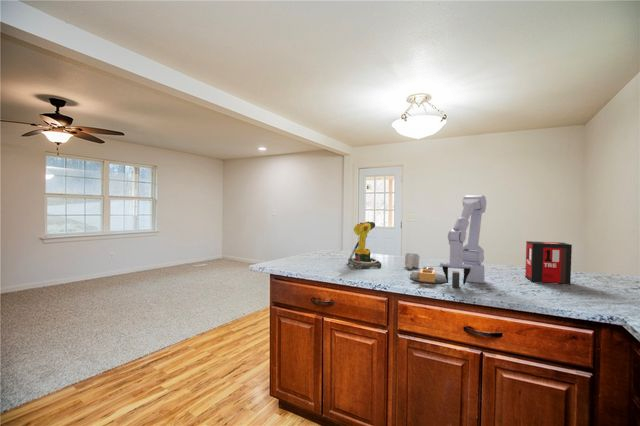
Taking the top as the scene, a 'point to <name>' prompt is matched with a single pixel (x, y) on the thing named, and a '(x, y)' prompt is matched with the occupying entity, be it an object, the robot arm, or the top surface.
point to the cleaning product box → (548, 262)
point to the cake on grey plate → (438, 277)
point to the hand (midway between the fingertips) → (455, 283)
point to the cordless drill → (363, 248)
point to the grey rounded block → (412, 260)
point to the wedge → (455, 279)
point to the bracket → (424, 275)
